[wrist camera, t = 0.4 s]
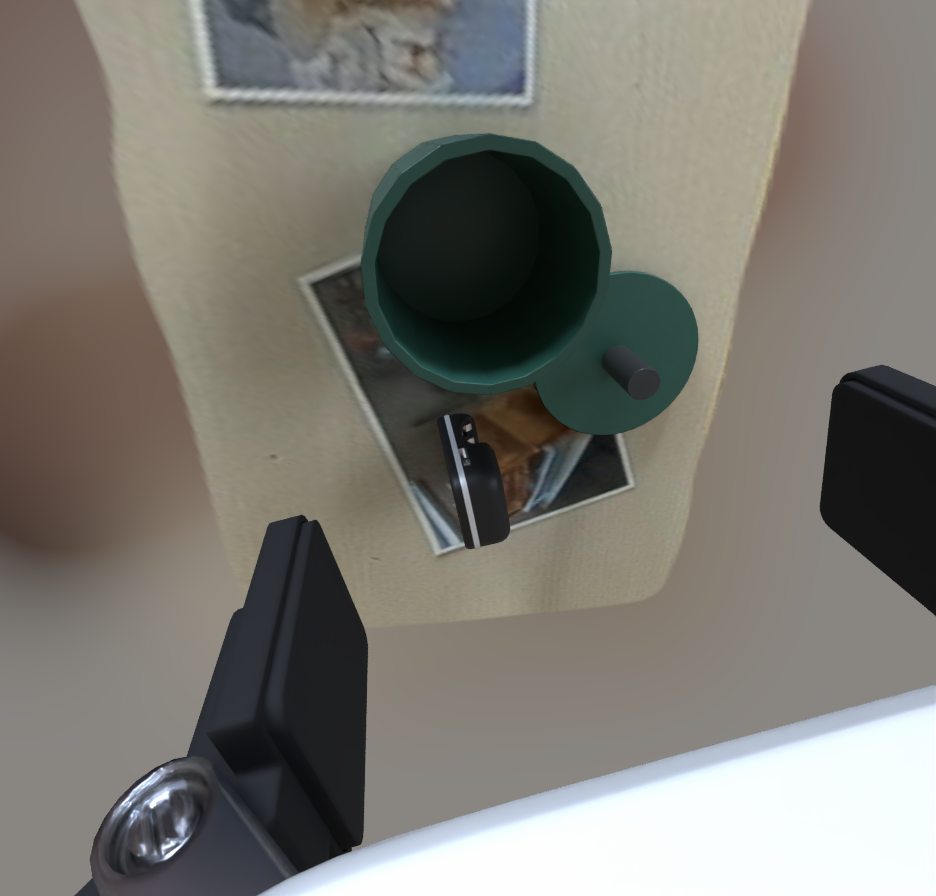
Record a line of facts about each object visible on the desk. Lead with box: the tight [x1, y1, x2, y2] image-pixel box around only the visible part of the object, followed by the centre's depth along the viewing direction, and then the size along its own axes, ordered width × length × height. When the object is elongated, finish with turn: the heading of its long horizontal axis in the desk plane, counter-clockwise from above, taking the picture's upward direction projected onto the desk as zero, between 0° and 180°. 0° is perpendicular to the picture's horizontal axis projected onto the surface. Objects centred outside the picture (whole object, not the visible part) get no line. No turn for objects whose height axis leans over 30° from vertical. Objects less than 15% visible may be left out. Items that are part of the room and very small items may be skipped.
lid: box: [534, 271, 698, 435], centre depth 45 cm, size 14×14×7 cm
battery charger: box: [437, 414, 510, 549], centre depth 45 cm, size 7×4×11 cm, turn 10°
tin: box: [361, 133, 612, 395], centre depth 36 cm, size 13×14×14 cm
